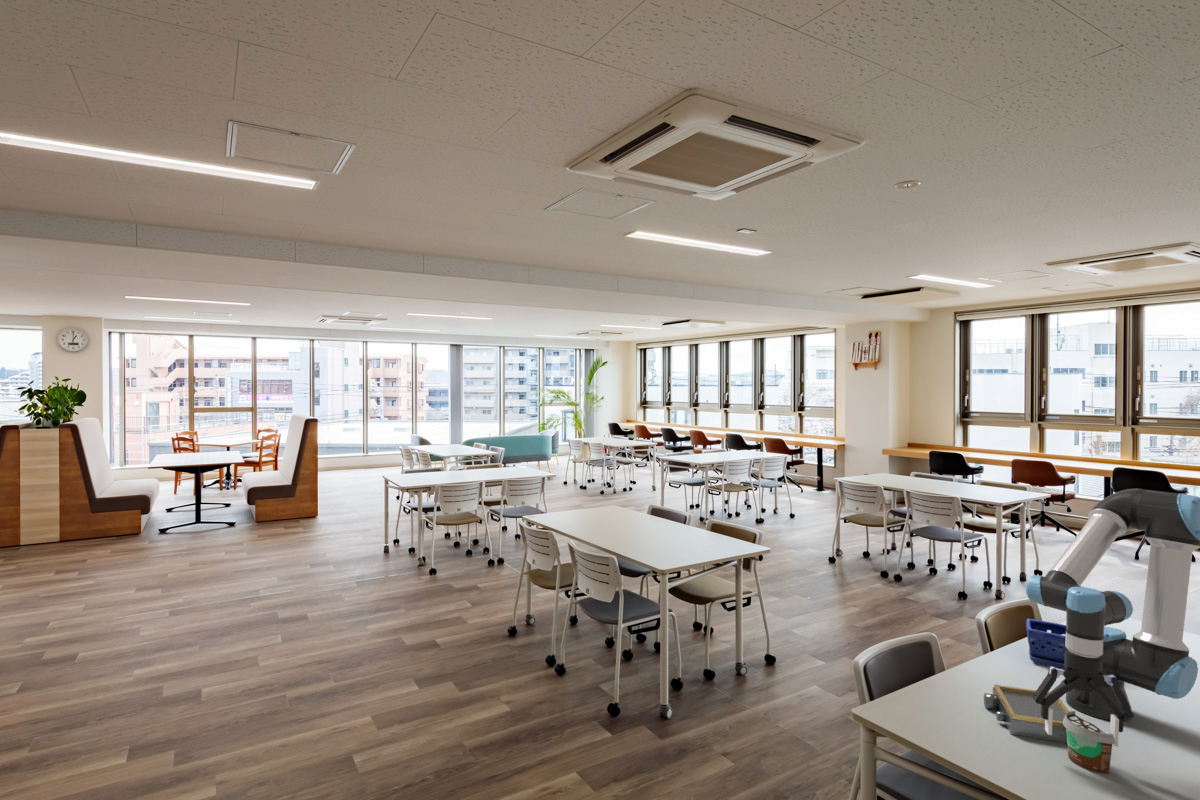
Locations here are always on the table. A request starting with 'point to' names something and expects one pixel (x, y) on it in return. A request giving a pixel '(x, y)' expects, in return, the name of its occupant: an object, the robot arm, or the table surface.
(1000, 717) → the grey flat box
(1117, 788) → the table surface
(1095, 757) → the food container
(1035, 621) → the flower pot
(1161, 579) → the robot arm
